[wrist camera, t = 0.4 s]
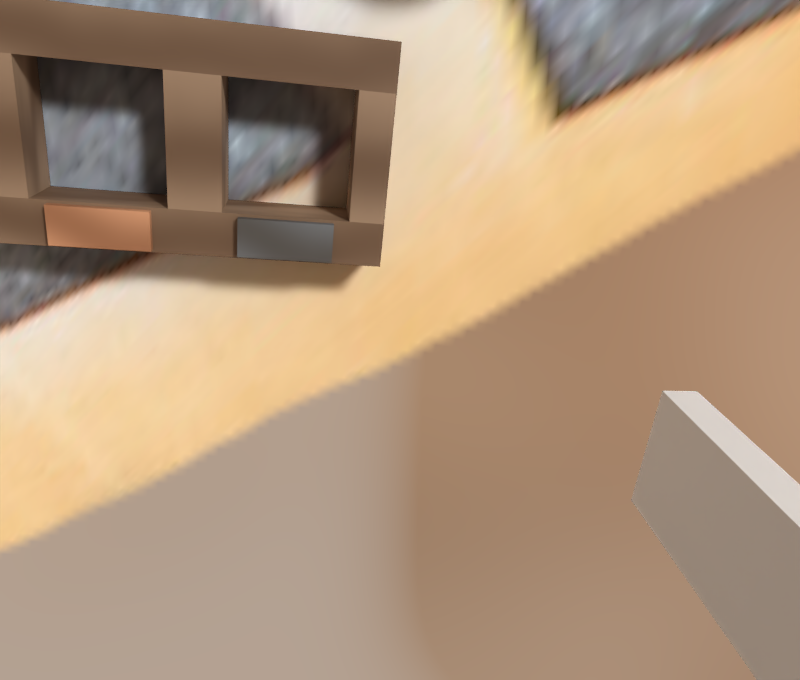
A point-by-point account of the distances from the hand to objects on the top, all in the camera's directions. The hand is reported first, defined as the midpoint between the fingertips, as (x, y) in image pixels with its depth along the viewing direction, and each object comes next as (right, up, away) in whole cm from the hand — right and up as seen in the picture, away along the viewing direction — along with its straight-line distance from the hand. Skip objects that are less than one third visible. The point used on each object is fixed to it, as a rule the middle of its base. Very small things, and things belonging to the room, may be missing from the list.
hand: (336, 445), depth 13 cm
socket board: (-9, +13, +21) cm, 26 cm away
